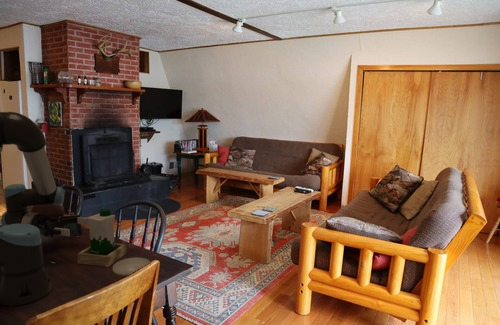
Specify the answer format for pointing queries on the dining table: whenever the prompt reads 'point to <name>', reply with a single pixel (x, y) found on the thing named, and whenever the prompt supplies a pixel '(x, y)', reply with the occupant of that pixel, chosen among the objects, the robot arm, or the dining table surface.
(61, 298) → the dining table surface
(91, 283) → the dining table surface
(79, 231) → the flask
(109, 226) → the soya milk
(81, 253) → the shallow beige tray
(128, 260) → the pad
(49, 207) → the wooden sphere
